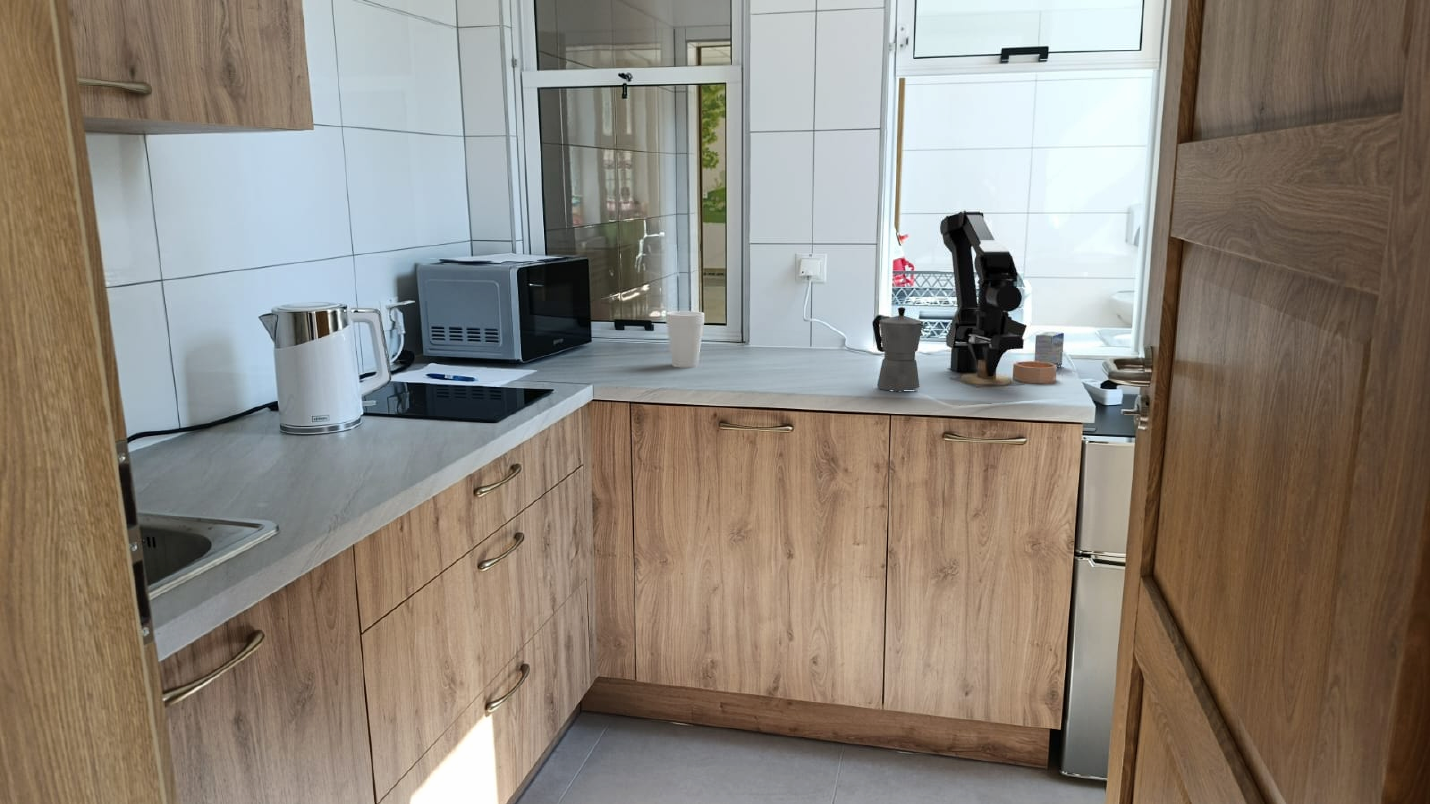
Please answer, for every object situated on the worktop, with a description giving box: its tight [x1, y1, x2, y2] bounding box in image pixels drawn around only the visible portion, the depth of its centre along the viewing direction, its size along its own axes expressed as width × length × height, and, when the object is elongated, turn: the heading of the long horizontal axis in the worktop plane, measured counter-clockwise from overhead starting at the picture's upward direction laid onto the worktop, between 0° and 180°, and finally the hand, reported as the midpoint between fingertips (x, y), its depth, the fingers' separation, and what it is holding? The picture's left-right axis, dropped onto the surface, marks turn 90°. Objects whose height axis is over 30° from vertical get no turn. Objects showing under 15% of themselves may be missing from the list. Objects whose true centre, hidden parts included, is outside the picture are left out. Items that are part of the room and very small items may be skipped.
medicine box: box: [1033, 331, 1065, 368], centre depth 251 cm, size 8×4×9 cm, turn 143°
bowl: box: [1012, 360, 1058, 384], centre depth 233 cm, size 9×9×4 cm
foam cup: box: [665, 310, 705, 369], centre depth 251 cm, size 10×9×13 cm
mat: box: [949, 376, 1025, 389], centre depth 231 cm, size 12×12×1 cm
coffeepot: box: [871, 306, 925, 391], centre depth 224 cm, size 15×9×18 cm, turn 33°
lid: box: [960, 359, 1013, 387], centre depth 230 cm, size 11×11×5 cm
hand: (986, 375), depth 230 cm, fingers closed on lid, 3 cm apart
